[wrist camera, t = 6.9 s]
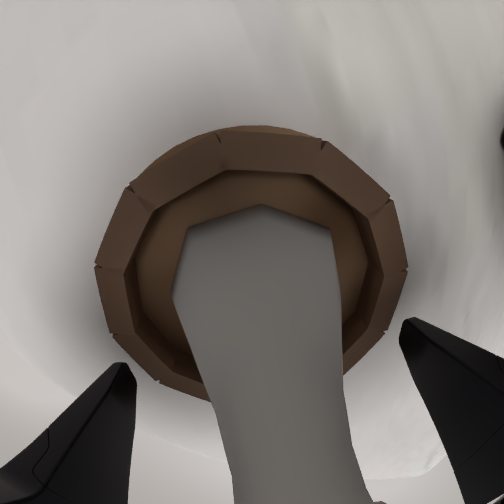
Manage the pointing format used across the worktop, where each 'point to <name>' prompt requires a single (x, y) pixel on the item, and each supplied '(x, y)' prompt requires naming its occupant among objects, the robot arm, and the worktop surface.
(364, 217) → the round wooden tray
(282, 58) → the worktop surface
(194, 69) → the worktop surface
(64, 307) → the worktop surface
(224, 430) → the flask
